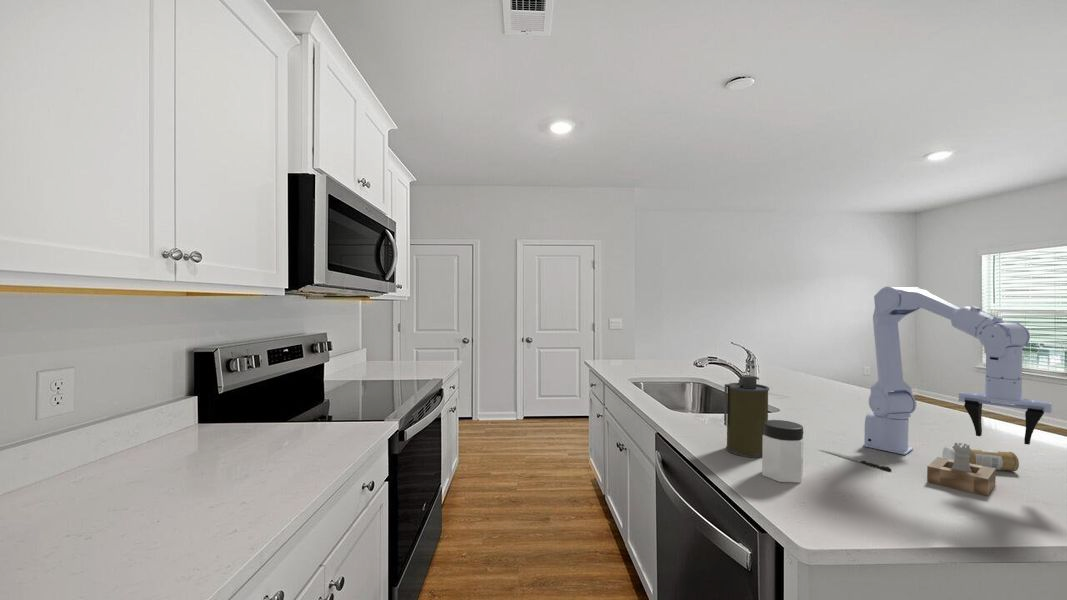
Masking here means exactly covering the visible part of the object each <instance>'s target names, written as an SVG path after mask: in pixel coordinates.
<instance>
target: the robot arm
mask: <svg viewBox="0 0 1067 600" xmlns="http://www.w3.org/2000/svg"><path fill="white" fill-rule="evenodd" d="M873 297H874V299H873V300H874V309H873V310H874V311H873V315H872V324H873V333H874V334H873V335H874V344H875V346H874V347H875V355H876V356H875V357H876V367H877V369H876V370H877V381H876V382H875V383H873V385H871V386H870V395H869V397H868V406H869V408H870V410H871V411H872V412H868V413H866V415H865V418H864V444H863V447H865V448H866V447H867V448H870V449H875V450H880V451H885V452H890V453H895V454H898V455H904V456H905V455H906V456H907V454H909V453H910V452H911V451H913V450H914V447H913V446H909V418H911V416H912V415H911V414H913V413H914V412H915V411H916V409H917V401H916V399H915V396H914V395H913V392H912V387H911V386H910V385H909V384H908V383H907V382H906V381H905V380H904V373H903V363H902V353H901V342H900V341H901V340H900V331H899V322H901V320H902V319H904V317H906V316H908V315H910V314H912V313H914V312H916V311H919V310H921V309H923V310H926V311H928V312H931V313H933V314H935V315H938V316H940V317H943V318H945V319H948V320H950V324H951V326H952V327H953V328H955V329H957V330H959V331H961V332H963V333H965V334H967V335H969V336H972V337H973V338H975V339H978V340H979V342H980V344H981V345H982V346H983V347H984V354H985V389H984V391H985V393H976V392H967V391H966V392H965V391H959V392H958V402H962V403H963V402H964V404H963V406H964V408H965V410H966V413H968V415H969V417H970V420H971V422H972V424H973V427H974V432H975V436H976V437H981V436H982V434H983V427H982V413H983V412H982V411H983V405H991V406H999V407H1005V408H1013V409H1021V410H1025V413H1024V415H1025V418H1024V419H1025V434H1024V439H1023V441H1024V445H1030V444H1031V438H1032V435H1033V433H1034V431H1035V428H1036V426H1037V424H1038V423H1039V421H1040V419H1041V418H1043V416H1044V414H1045V413H1046V414H1047V413H1048V414H1052V406H1053V403H1052V402H1049V401H1048V402H1047V401H1042V400H1041V401H1040V400H1036V399H1035V400H1034V399H1030V398H1029V399H1028V398H1023V397H1022V395H1023V393H1022V390H1023V389H1022V385H1023V380H1022V379H1023V348H1024V347H1025V346H1027V345H1028V343H1029V341H1030V339H1031V334H1030V332H1029V330H1028V329H1027V327H1025V326H1024V325H1022V324H1021V323H1020V322H1017V321H1015V322H1014V321H1009V322H1005V320H1003V317H1001V316H997V315H996V316H993V315H991V314H988V313H985V312H984V311H981V310H982V308H981V307H978V306H975V305H973V306H963V307H959V306H957V305H955V304H953V303H952V302H951V303H950V302H949V301H946V300H945V299H943V298H940V297H938V296H937V295H934V294H932V293H930V292H929V291H928V290H927V289H921V288H920V287H917V286H910V287H908V286H905V287H903V286H900V287H899V286H895V287H894V286H883V287H882V288H880V289H879V290H878V292H876V294H875V295H874V296H873Z"/></svg>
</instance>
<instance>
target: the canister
mask: <svg viewBox="0 0 1067 600" xmlns="http://www.w3.org/2000/svg"><path fill="white" fill-rule="evenodd" d="M757 380H759V381H760V378H759V377H758V376H754V375H739V379H738V382H729V383H725V384H724V392H723V393H724V394H723V395H724V405H723V409H724V414H723V416H724V417H723V418H724V420H723V422H724V423H723V425H724V426H725V427H726V446H725V450H726V451H727V452H728V453H729V454H732V455H735V456H739V457H744V458H753V459H754V458H755V459H758V458H760V459H761V458H762V446H763V434H764V433H763V423H764V422H765V421H767V420H769V391H770V387H769V386H767V385H763V384H758V383H757Z"/></svg>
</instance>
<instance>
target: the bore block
mask: <svg viewBox="0 0 1067 600" xmlns="http://www.w3.org/2000/svg"><path fill="white" fill-rule="evenodd" d="M953 464H954V460H951V459H946V458H943V457H940V456H936V458H935V459H934V460H932V461H931V462H930V463H929V464H928V465H927V468H926V470H927V471H926V473H927V476H926V482H927V481H928V483H931V482H932V483H931V484H936V485H941V486H945V487H948V488H953V489H956V490H960V491H965V492H969V493H974V494H978V495H982V496H987V497H989V495H990V494H991V492H992V490H993V488H994V487H995V486H996V476H997V475H996V472H997V470H996V468H991V467H986V466H981V465H976V464H971V463H969V465H970V469H971V470H972V473H970V472H965V471H960V470H956V469H951V467H952V466H953Z"/></svg>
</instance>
